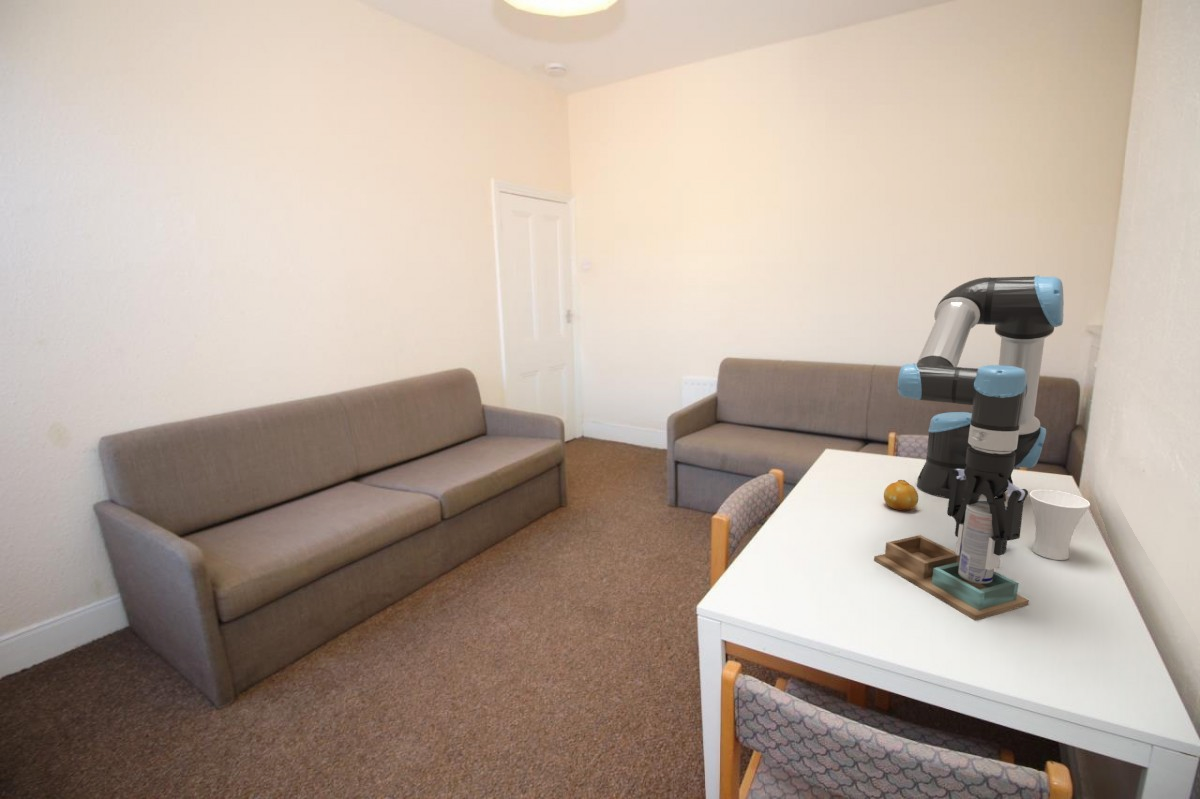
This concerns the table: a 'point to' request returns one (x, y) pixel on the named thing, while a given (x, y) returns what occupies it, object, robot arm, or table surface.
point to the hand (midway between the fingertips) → (976, 560)
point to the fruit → (901, 495)
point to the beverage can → (976, 544)
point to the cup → (1055, 521)
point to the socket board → (949, 578)
